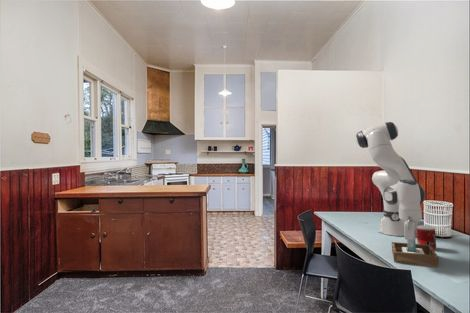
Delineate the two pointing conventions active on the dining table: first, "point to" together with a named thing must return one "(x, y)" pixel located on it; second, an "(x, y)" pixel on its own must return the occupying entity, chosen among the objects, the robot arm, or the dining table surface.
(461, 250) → the dining table surface
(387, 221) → the robot arm
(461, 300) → the dining table surface
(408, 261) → the box
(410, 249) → the peg
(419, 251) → the plate
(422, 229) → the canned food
